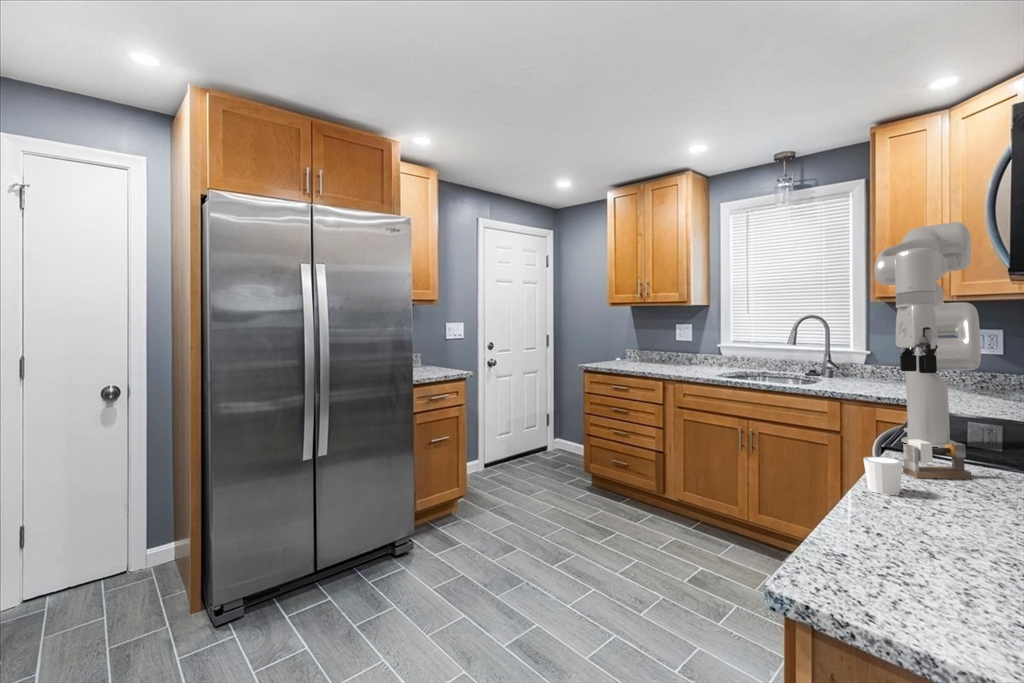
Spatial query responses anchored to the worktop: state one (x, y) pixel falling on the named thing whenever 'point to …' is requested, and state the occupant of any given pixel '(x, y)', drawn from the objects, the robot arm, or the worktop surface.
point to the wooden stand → (937, 471)
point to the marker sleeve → (922, 449)
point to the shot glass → (883, 474)
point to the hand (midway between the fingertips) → (917, 372)
